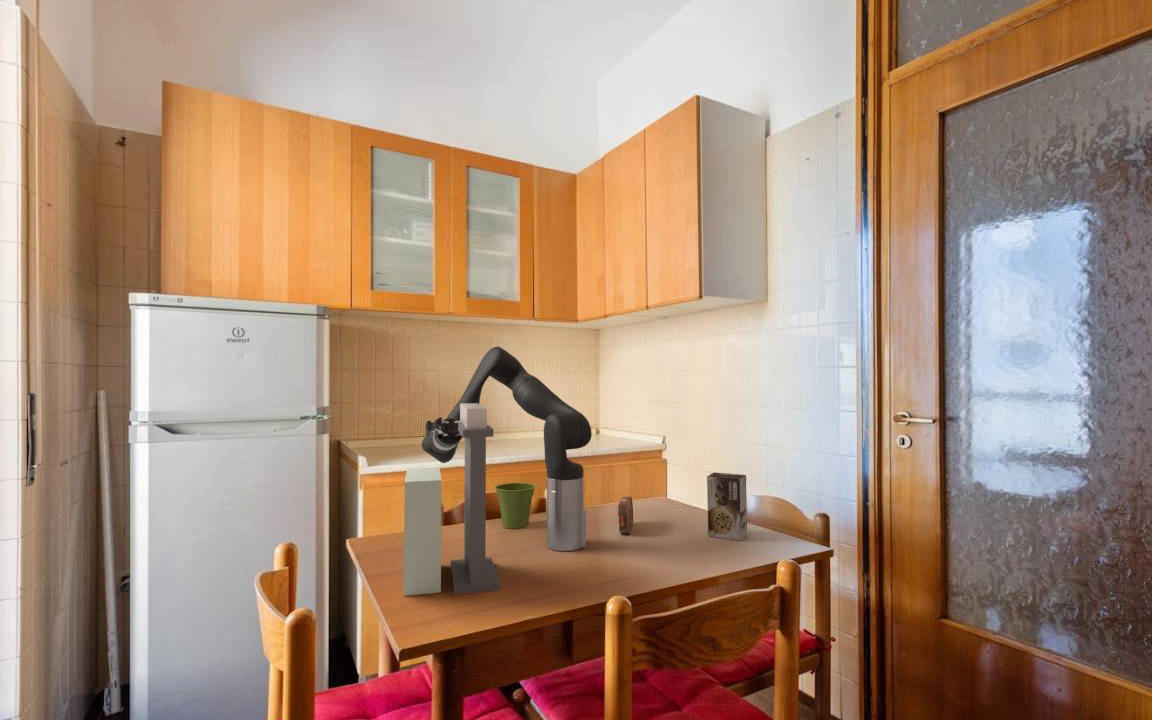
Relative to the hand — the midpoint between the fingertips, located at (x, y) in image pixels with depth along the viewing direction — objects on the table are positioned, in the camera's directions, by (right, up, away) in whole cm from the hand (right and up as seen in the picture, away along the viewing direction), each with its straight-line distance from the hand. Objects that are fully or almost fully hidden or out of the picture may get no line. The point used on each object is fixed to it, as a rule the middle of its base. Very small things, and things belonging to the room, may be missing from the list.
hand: (457, 420), depth 141 cm
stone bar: (+7, +1, -18) cm, 20 cm away
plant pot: (+13, -32, +15) cm, 38 cm away
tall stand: (+9, -30, -25) cm, 40 cm away
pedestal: (-2, -30, -26) cm, 40 cm away
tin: (+44, -32, +12) cm, 56 cm away
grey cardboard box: (+71, -32, +6) cm, 78 cm away
